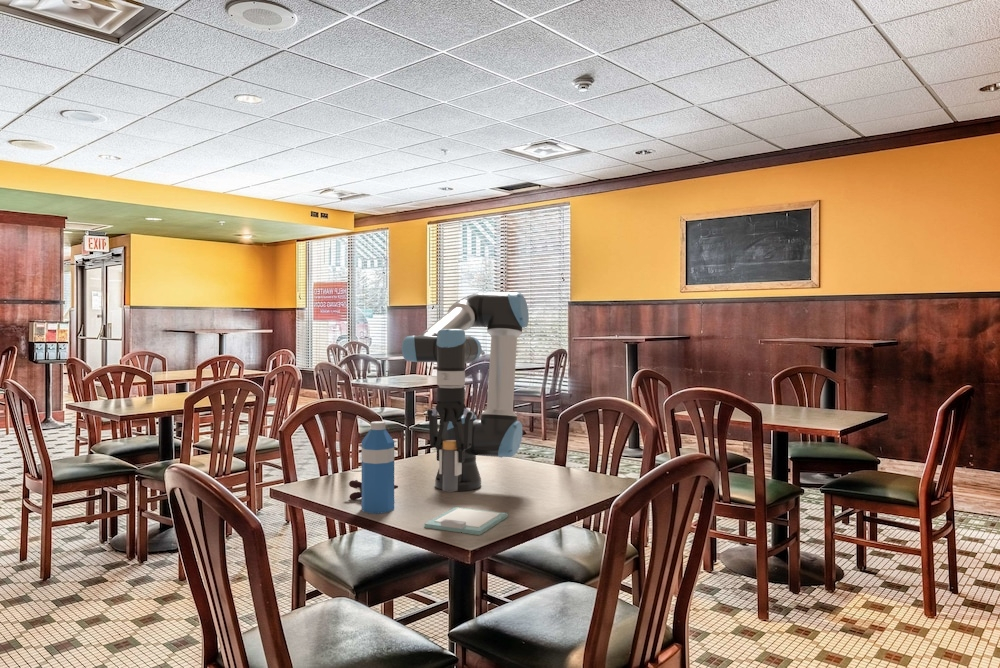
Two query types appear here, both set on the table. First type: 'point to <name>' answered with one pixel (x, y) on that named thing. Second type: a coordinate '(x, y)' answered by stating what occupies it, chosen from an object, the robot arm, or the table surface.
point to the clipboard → (466, 520)
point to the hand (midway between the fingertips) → (450, 473)
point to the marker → (449, 466)
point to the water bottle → (377, 470)
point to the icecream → (359, 485)
